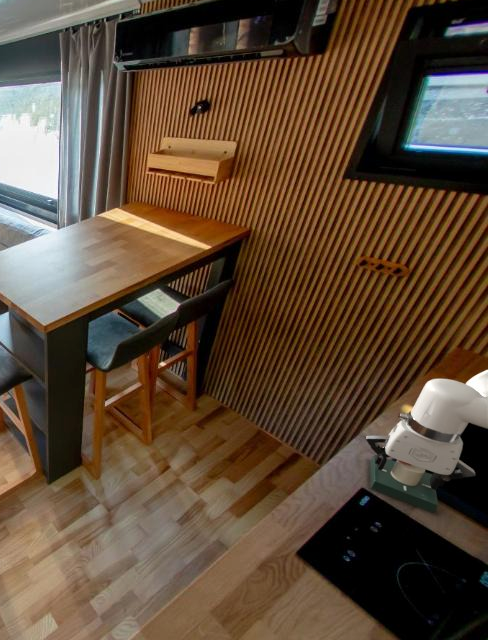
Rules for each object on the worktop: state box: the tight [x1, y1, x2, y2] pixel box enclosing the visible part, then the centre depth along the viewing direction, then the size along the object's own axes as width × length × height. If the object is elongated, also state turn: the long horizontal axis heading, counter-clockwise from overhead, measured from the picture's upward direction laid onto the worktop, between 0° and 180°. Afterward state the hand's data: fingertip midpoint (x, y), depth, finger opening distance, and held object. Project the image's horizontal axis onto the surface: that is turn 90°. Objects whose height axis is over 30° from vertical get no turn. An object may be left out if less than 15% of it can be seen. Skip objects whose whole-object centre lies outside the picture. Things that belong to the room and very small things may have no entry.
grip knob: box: [391, 459, 426, 486], centre depth 90 cm, size 4×4×5 cm
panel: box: [369, 454, 439, 513], centre depth 92 cm, size 10×10×3 cm
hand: (405, 475), depth 91 cm, fingers open, 8 cm apart
